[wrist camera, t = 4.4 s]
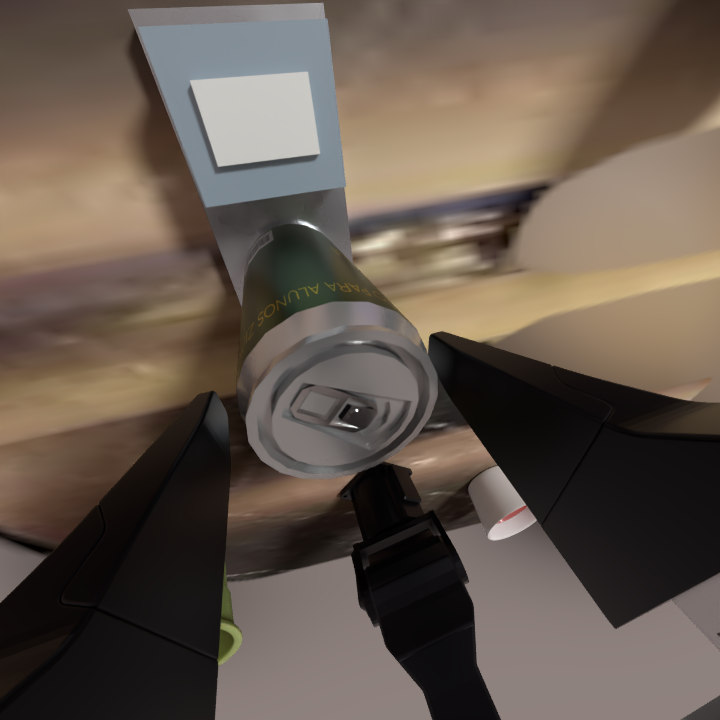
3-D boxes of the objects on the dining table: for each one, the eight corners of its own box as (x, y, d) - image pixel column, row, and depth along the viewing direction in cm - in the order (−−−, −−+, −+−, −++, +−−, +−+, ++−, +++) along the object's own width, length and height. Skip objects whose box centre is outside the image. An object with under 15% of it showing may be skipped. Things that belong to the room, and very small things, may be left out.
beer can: (229, 290, 16) (196, 472, 7) (271, 198, 14) (306, 270, 5) (313, 327, 19) (372, 491, 10) (356, 254, 17) (483, 368, 8)
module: (334, 182, 15) (347, 187, 13) (212, 200, 14) (205, 208, 12) (315, 40, 12) (329, 15, 10) (158, 49, 11) (134, 22, 9)
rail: (362, 375, 24) (366, 383, 23) (279, 398, 23) (279, 407, 22) (318, 13, 12) (323, 3, 11) (136, 20, 11) (128, 9, 10)
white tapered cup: (449, 497, 42) (475, 542, 37) (487, 457, 39) (521, 501, 34) (487, 497, 47) (515, 538, 42) (525, 461, 43) (560, 500, 38)
